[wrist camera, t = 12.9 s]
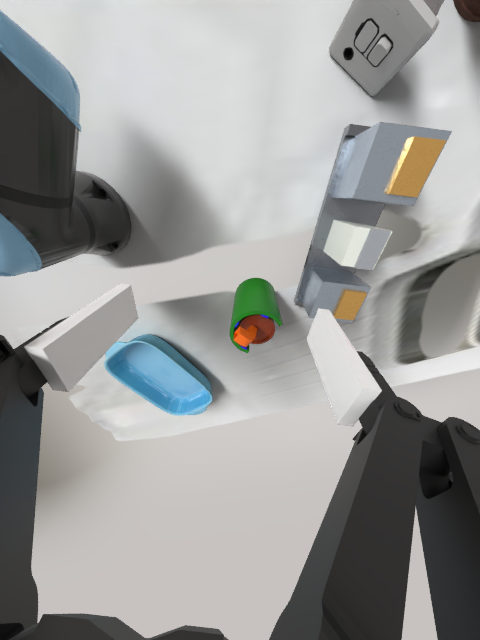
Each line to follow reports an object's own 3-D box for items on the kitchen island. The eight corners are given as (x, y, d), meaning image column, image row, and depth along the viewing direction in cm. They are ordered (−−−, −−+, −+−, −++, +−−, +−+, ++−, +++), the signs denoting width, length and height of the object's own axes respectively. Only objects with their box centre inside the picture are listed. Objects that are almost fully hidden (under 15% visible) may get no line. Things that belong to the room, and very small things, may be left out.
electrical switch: (325, 53, 28) (361, -16, 19) (352, 0, 25) (405, -102, 17) (371, 99, 30) (421, 55, 22) (400, 55, 28) (467, -13, 19)
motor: (258, 317, 52) (261, 375, 36) (229, 304, 51) (216, 357, 34) (278, 286, 47) (292, 337, 30) (246, 270, 46) (241, 314, 29)
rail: (294, 301, 49) (302, 324, 40) (344, 128, 32) (381, 101, 22) (336, 306, 49) (355, 331, 40) (410, 136, 32) (473, 113, 23)
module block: (323, 251, 41) (342, 266, 32) (333, 219, 38) (358, 227, 29) (349, 254, 41) (375, 270, 32) (362, 223, 38) (395, 231, 29)
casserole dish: (103, 348, 63) (87, 364, 57) (145, 314, 54) (131, 329, 48) (184, 405, 78) (179, 423, 72) (227, 385, 69) (225, 403, 63)
